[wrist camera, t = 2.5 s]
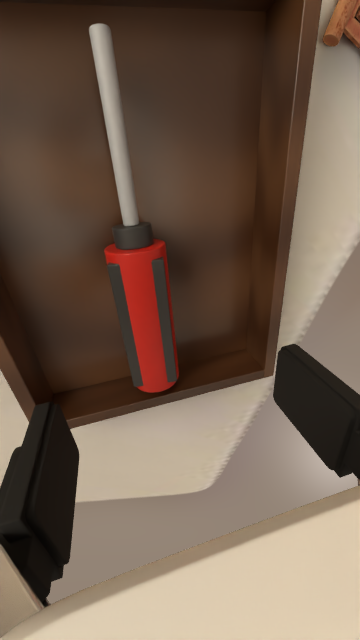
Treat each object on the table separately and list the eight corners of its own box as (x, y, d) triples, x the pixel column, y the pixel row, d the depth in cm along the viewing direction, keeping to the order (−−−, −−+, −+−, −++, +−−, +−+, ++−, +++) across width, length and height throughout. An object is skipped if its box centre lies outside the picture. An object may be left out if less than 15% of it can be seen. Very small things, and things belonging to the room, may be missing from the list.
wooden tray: (-156, -32, 9) (-271, -127, 6) (278, -9, 12) (330, -64, 9) (46, 400, 19) (36, 437, 16) (252, 351, 22) (273, 375, 19)
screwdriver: (67, 49, 11) (39, 4, 8) (142, 44, 11) (141, -1, 8) (134, 364, 19) (131, 396, 16) (176, 358, 19) (181, 389, 17)
